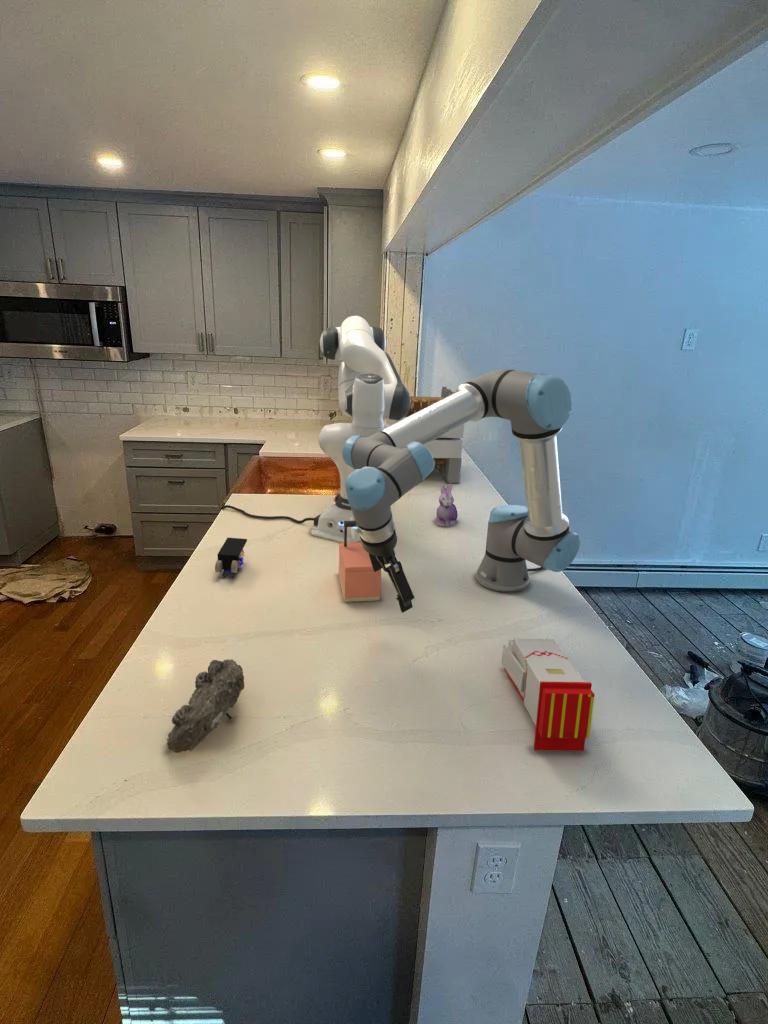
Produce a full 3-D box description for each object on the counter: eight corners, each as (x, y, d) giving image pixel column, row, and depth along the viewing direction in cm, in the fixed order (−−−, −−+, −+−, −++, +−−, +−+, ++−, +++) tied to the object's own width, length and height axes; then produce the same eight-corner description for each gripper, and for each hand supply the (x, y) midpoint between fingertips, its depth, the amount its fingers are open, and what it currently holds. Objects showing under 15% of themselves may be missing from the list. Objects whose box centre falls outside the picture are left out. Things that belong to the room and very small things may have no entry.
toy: (549, 621, 128) (604, 690, 99) (544, 676, 131) (595, 758, 101) (496, 620, 128) (535, 688, 98) (492, 675, 130) (528, 757, 101)
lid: (338, 545, 165) (339, 517, 162) (371, 544, 167) (372, 516, 164) (345, 571, 149) (345, 540, 146) (381, 570, 151) (382, 539, 148)
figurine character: (238, 584, 162) (249, 557, 175) (236, 562, 158) (247, 536, 172) (215, 584, 161) (227, 556, 175) (212, 561, 158) (225, 535, 171)
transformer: (382, 463, 289) (386, 382, 275) (445, 464, 293) (451, 384, 279) (390, 482, 257) (394, 392, 243) (460, 483, 261) (468, 394, 247)
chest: (338, 575, 167) (339, 547, 164) (370, 574, 169) (371, 546, 166) (344, 601, 152) (345, 571, 149) (379, 600, 154) (381, 570, 151)
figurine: (442, 528, 206) (446, 489, 201) (428, 519, 214) (431, 481, 209) (464, 525, 210) (468, 486, 205) (449, 516, 218) (452, 479, 213)
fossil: (192, 660, 117) (244, 628, 112) (224, 691, 120) (276, 661, 115) (142, 746, 98) (202, 712, 93) (182, 779, 101) (242, 748, 96)
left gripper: (387, 444, 145) (385, 495, 149) (372, 428, 164) (370, 475, 168) (362, 444, 144) (361, 496, 148) (350, 428, 162) (349, 475, 167)
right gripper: (336, 502, 124) (355, 560, 140) (389, 580, 108) (404, 635, 124) (366, 487, 126) (381, 546, 141) (423, 562, 110) (433, 619, 125)
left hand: (366, 484), depth 158 cm, fingers open, 8 cm apart
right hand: (392, 588), depth 132 cm, fingers open, 13 cm apart
